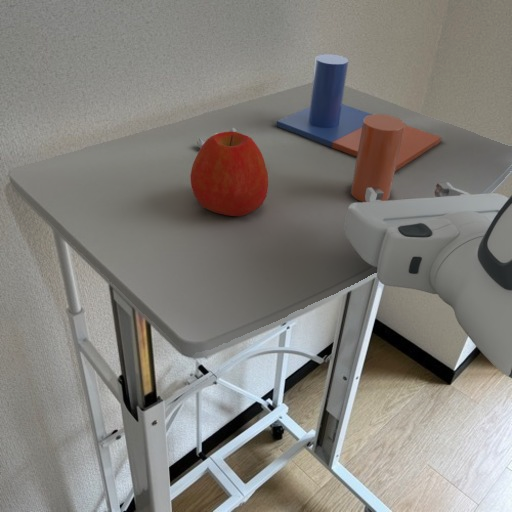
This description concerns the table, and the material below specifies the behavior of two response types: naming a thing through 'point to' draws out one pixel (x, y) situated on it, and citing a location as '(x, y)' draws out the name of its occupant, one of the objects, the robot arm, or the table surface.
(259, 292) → the table surface
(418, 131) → the board
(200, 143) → the game pieces
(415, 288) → the robot arm
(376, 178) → the terracotta canister
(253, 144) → the apple
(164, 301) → the table surface
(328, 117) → the blue canister
